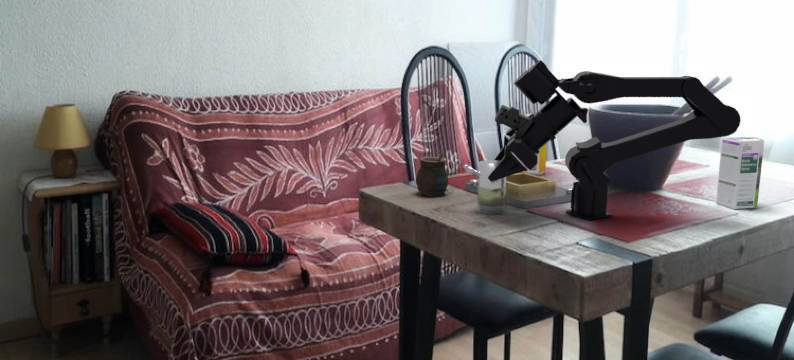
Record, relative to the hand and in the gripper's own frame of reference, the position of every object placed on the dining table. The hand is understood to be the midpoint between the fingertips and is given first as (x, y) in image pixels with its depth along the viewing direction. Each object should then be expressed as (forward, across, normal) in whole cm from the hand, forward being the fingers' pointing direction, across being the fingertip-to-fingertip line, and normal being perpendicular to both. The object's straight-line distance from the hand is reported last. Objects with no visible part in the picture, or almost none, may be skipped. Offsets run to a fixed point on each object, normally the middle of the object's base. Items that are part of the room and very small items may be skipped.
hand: (489, 174), depth 138 cm
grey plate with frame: (0, -16, +10) cm, 19 cm away
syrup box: (-31, -13, +42) cm, 54 cm away
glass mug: (+6, 0, +5) cm, 8 cm away
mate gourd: (+14, -13, -3) cm, 19 cm away
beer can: (-2, -39, +13) cm, 42 cm away
